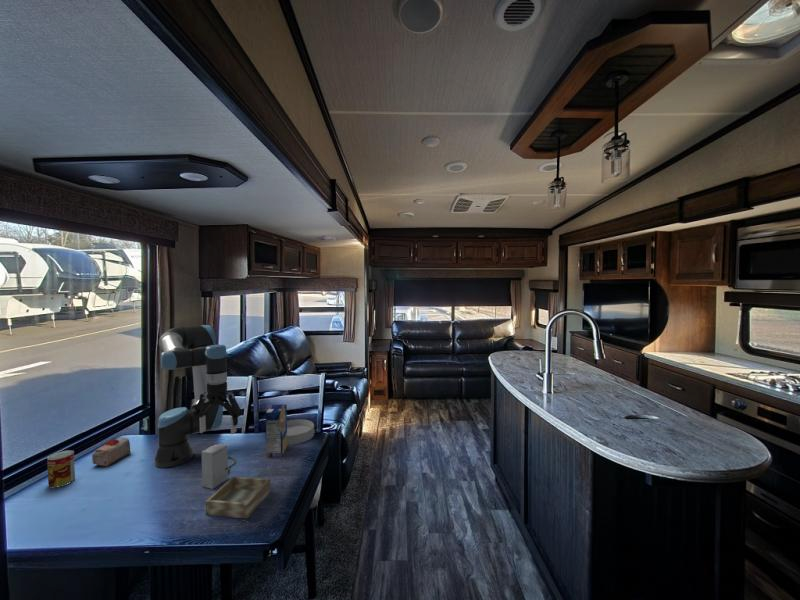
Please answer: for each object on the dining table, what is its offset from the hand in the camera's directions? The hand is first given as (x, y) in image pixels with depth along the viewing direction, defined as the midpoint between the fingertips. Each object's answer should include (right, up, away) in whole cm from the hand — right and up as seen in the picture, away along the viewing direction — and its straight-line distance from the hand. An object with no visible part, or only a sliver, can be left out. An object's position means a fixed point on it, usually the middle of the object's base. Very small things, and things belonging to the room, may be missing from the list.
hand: (218, 432), depth 142 cm
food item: (-60, -21, +18) cm, 66 cm away
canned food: (-65, -21, 0) cm, 69 cm away
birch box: (+16, -21, -14) cm, 30 cm away
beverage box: (+15, -20, +26) cm, 36 cm away
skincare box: (-1, -21, 0) cm, 21 cm away
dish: (+18, -20, +45) cm, 52 cm away
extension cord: (-5, -21, +12) cm, 25 cm away
